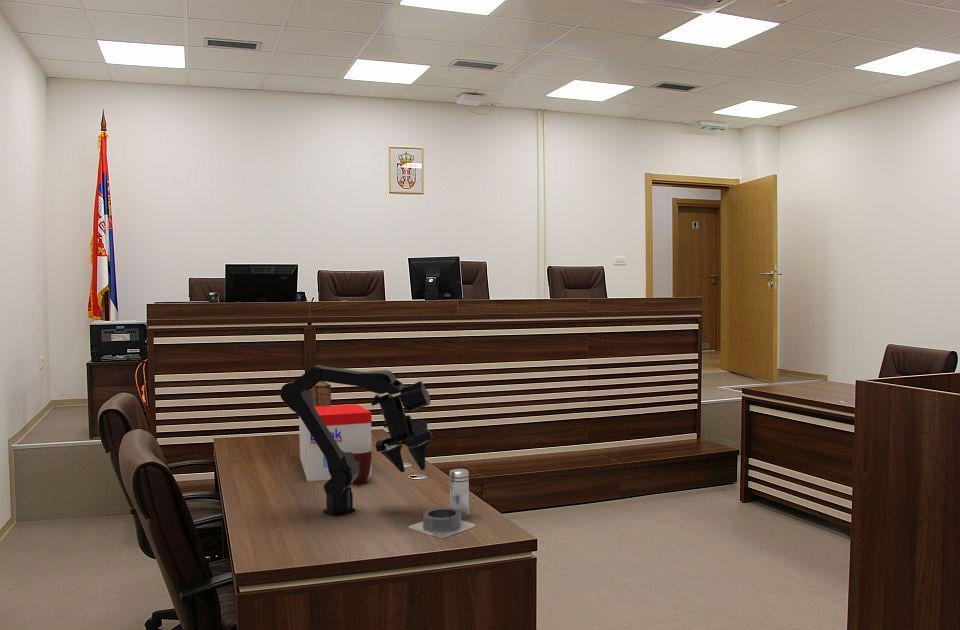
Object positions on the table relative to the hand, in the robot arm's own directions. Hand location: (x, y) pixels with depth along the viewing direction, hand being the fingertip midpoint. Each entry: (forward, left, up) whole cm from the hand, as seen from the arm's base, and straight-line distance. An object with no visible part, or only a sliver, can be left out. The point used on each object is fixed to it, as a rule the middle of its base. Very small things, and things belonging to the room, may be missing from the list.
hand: (413, 470), depth 202 cm
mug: (+10, +36, -12) cm, 39 cm away
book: (+31, +86, -12) cm, 92 cm away
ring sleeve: (-3, -14, -12) cm, 18 cm away
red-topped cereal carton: (+18, +60, -12) cm, 64 cm away
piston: (+7, -11, -12) cm, 17 cm away
